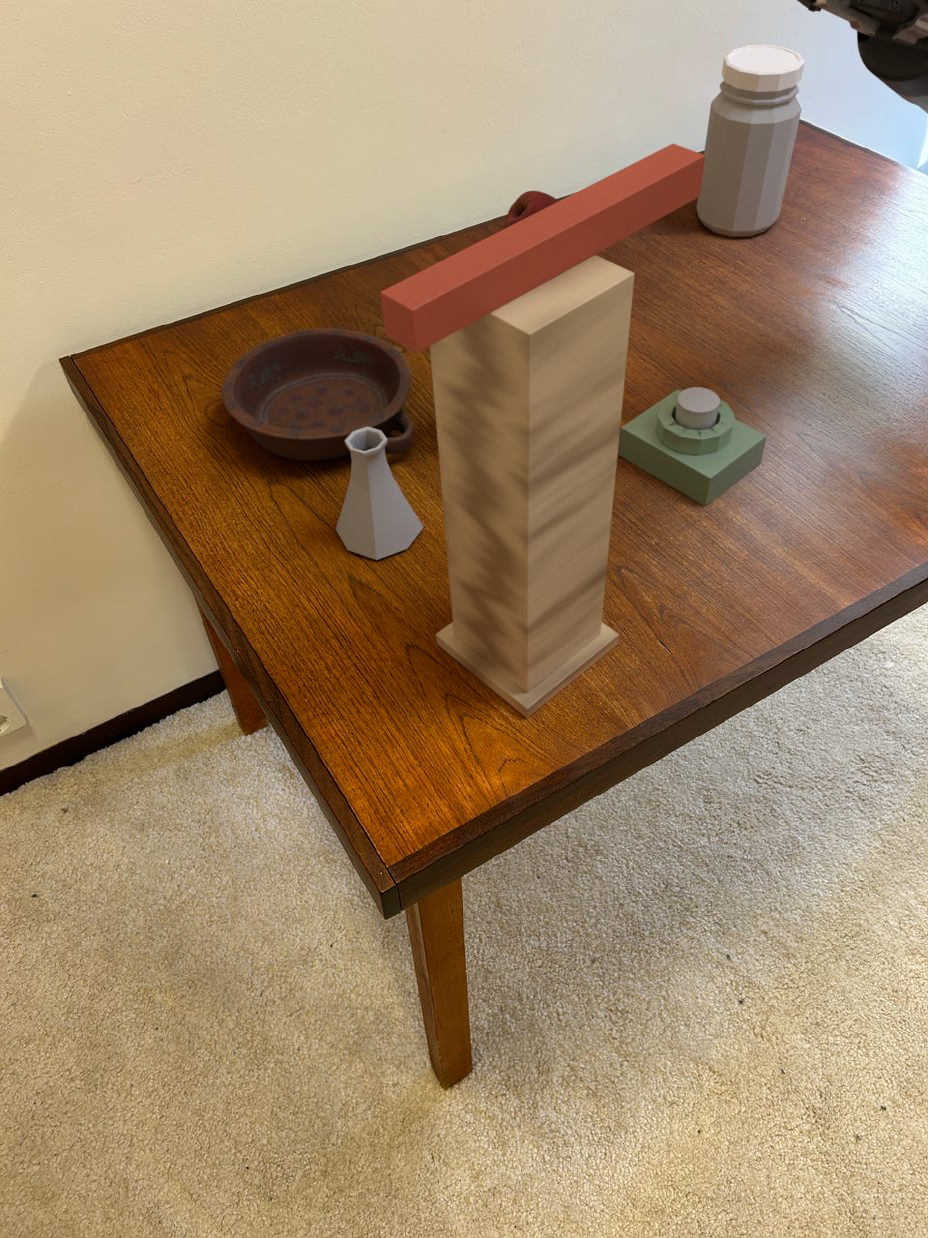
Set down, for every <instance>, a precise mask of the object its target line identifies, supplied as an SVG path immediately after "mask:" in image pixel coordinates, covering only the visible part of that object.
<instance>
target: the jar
mask: <svg viewBox="0 0 928 1238" xmlns="http://www.w3.org/2000/svg"><path fill="white" fill-rule="evenodd" d="M804 67H805V61H804V59H803V57H802V55H801V54H800V53H799V52H797V51H795V50H793V49H790V48H788V47H785V46H779V45H771V44H751V45H750V44H749V45H745V46H742V47H741V46H740V47H738V48H734V49H732V50H731V51H730V52H728V53H727V54H725V56H723V63H722V70H721V76H722V79H723V81H722V82H720V83H719V89H720V92H719V93H718V94H717V95H716V96H715V98H714V99H713V100H712V101H711V102H710V109H709V116H708V123H707V129H706V130H707V131H706V138H705V144H704V151H703V155H705V164H704V171H703V178H702V185H701V192H700V196H699V197H698V198H697V201H696V212H697V215H698V218H699V220H700V222H701V223H702V225H703V226H704V227H706V228H707V229H708V230H710V231H711V232H713V233H714V234H719V235H722V236H727V237H730V238H740V237H741V238H743V237H753V236H755V235H758V234H762V233H764V232H765V231H767V230H768V229H769V228H770V227H771V226H772V225H773V224H774V223H775V222H776V221H777V219H778V218H779V217H780V214H781V209H782V205H783V201H784V195H785V190H786V186H787V181H788V176H789V173H790V172H789V171H790V166H791V162H792V157H793V153H794V147H795V143H796V138H797V134H798V127H799V124H800V119H801V118H800V117H801V114H802V107H801V104H800V102H799V100H798V99H797V97H796V96H797V95H798V94H799V93H800V88H799V86H798V83H799V82H800V81H801V80H802V76H803V72H804Z"/></svg>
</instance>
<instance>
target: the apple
mask: <svg viewBox="0 0 928 1238" xmlns="http://www.w3.org/2000/svg"><path fill="white" fill-rule="evenodd" d="M559 201H560V200H558V199H557V198H556V197H553V196H552V195H550V194H548V193H545V192H543V191H540V190H528V191H525V192H523V193H522V194H520V195H519V197H518V198H517V199H516V200H515V201H514V202H513V204H512V205H511V206H510V208H509V210H508V212H507V215H506V217H505V220H504V223H503V224H504V225H503V230H504V229H506V228H508V227H510V226H511V225H513V224H515V223H517V222H519V221H521V220H523V219H525V218H527V217H529V216H531V215H533V214H535V213H537V212H539V211H541V210H543V209H545V208H547V207H549V206H551V205H553V204H555V203H557V202H559Z"/></svg>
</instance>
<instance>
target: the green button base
mask: <svg viewBox="0 0 928 1238" xmlns="http://www.w3.org/2000/svg"><path fill="white" fill-rule="evenodd" d="M682 391H683V390H681V389H676V390H674V391H673V392H671V393H670V394H668V395H666V397H663V398H662V399H661V400H660V401H658V402H656V403H655V404H654V405H652V406H651V407H649V408H647V409H646V410H645V411H643V412H642V413H640V414H638V415H637V416H635V417H634V418H633V419H632V420H630V421H628V422H627V423H626V424H623V426H620V434H619V445H618V455H617V456H619V457H621V458H623V459H624V460H626V461H627V462H629V463H631V464H633V465H634V466H636V467H638V468H639V469H641V470H643V471H644V472H646V473H647V474H650V475H651V476H653V477H654V478H656V479H658V480H659V481H662V482H663V483H664V484H666V485H668V486H670V487H672V489H675V490H677V491H678V492H679V493H682V494H684V495H685V496H686V497H688V498H690V499H692V500H693V501H695V502H697V503H699V504H700V505H702V506H704V507H706V506H708V505H709V504H710V503H711V502H712V501H714V500H716V499H717V498H718V497H719V496H720V495H722V494H723V493H725V492H726V491H727V490H728V489H730V488H731V487H733V485H735V484H737V483H738V482H739V481H740V480H741V479H743V478H744V477H745V476H746V475H748V474H749V473H750V472H751V471H753V470H754V469H755V468H757V467H758V466H759V465H761V462H762V459H763V454H764V451H765V446H766V441H767V438H768V436H767V434H764V432H760V431H759V430H757V429H755V428H754V427H752V426H749V425H748V424H745V423H744V422H741V421H740V420H737V419H736V418H735V416H736V415H735V412H734V411H733V410H732V408H731V407H730V406H729V404H728V403H727V402H726V401H724V400H722V399H720V404H719V409H718V415H717V420H716V423H715V425H714V426H713V427H711V428H710V429H705V430H692V429H686V428H684V427H682V426H680V425H678V424H677V422H676V421H675V412H676V405H677V398H678V395H679V394H680V392H682Z"/></svg>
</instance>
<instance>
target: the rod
mask: <svg viewBox="0 0 928 1238" xmlns="http://www.w3.org/2000/svg"><path fill="white" fill-rule="evenodd" d="M704 164H705V155H704V153H700V152H697V151H696V150H692V149H689V148H687V147H684V146H681V145H678V144H676V143H671V144H669V145H667V146H665V147H663V148H661V149H659V150H657V151H655V152H654V153H650V154H649V155H647V156H646V157H643V158H641V159H639V160H638V161H635V162H634V163H632V164H629V165H628V166H625V167H623V168H622V169H620V170H618V171H616V172H614V173H612V174H610V175H608V176H606V177H604V178H602V179H600V180H598V181H596V182H594V183H591V184H590V185H588V186H586V187H585V188H582V189H581V190H578V191H577V192H575V193H572V194H571V195H569V196H567V197H565V198H562V199H561V200H558V201H559V202H557V203H555V204H553V205H551V206H549V207H547V208H545V209H543V210H541V211H539V212H537V213H535V214H533V215H531V216H529V217H527V218H525V219H523V220H521V221H519V222H517V223H515V224H513V225H511V226H510V227H508V228H506V229H504V228H503V229H502V230H500V231H498V232H496V233H494V234H491V235H490V236H488V237H486V238H484V239H481V240H480V241H478V242H476V243H474V244H472V245H470V246H468V247H466V248H464V249H462V250H461V251H458V252H456V253H455V254H453V255H450V256H449V257H446V258H445V259H442V260H440V261H439V262H437V263H435V264H433V265H431V266H429V267H427V268H425V269H422V270H421V271H419V272H417V273H415V274H413V275H411V276H410V277H408V278H405V279H403V280H401V281H400V282H397V283H395V284H393V285H392V286H390V287H388V288H385V289H384V290H382V291H380V292H379V293H380V300H381V311H382V318H383V326H384V327H383V328H384V335H385V336H386V337H388V338H389V339H391V340H393V341H394V342H396V343H398V344H399V345H401V346H403V347H404V348H406V349H407V350H409V351H411V352H412V353H414V354H418V353H420V352H422V351H423V350H425V349H427V348H430V346H431V345H433V344H434V343H436V342H438V341H440V340H442V339H443V338H445V337H447V336H449V335H451V334H452V333H454V332H456V331H458V330H460V329H462V328H463V327H465V326H467V325H469V324H471V323H472V322H474V321H476V320H478V319H480V318H481V317H483V316H485V315H487V314H489V313H490V312H492V311H494V310H496V309H498V308H499V307H501V306H503V305H505V304H507V303H508V302H510V301H512V300H514V299H516V298H517V297H519V296H521V295H523V294H525V293H526V292H528V291H530V290H532V289H534V288H535V287H537V286H539V285H541V284H543V283H545V282H546V281H548V280H550V279H552V278H554V277H555V276H557V275H559V274H561V273H563V272H564V271H566V270H568V269H570V268H572V267H573V266H575V265H577V264H579V263H581V262H582V261H584V260H586V259H588V258H590V257H591V256H593V255H597V254H598V253H600V252H602V251H604V250H606V249H608V248H609V247H611V246H613V245H615V244H617V243H618V242H621V241H622V240H624V239H625V238H628V237H630V236H631V235H633V234H635V233H637V232H638V231H640V230H642V229H644V228H646V227H648V226H649V225H651V224H653V223H655V222H656V221H658V220H660V219H662V218H664V217H666V216H667V215H669V214H671V213H673V212H674V211H677V210H678V209H680V208H682V207H683V206H685V205H687V204H689V203H691V202H692V201H694V200H697V199H698V197H699V196H700V192H701V185H702V178H703V171H704Z"/></svg>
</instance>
